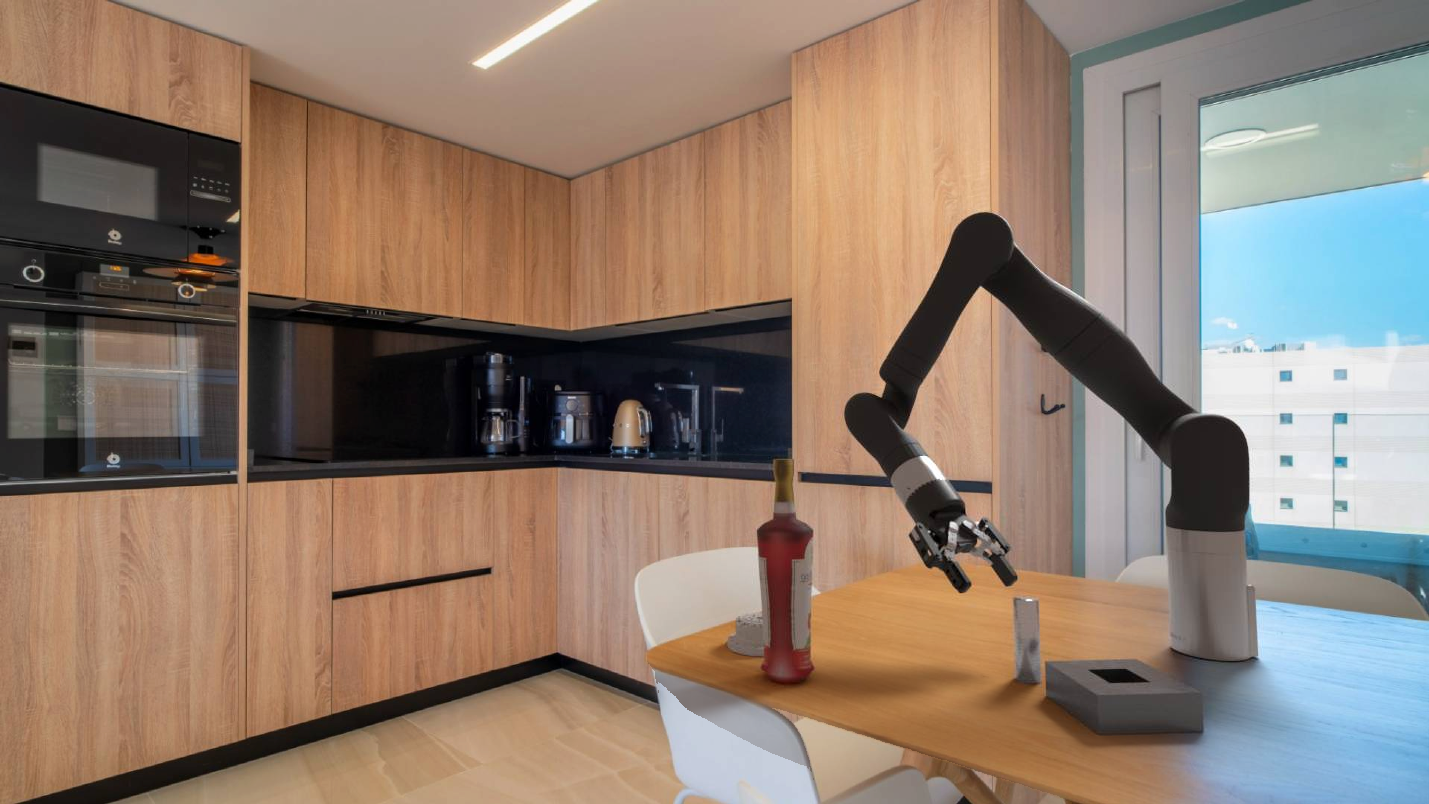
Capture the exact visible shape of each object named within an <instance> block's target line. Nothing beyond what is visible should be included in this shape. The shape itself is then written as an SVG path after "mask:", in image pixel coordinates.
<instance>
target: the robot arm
mask: <svg viewBox="0 0 1429 804" xmlns="http://www.w3.org/2000/svg"><path fill="white" fill-rule="evenodd" d="M979 288H982V289H984V290H985V291H986V292H988V293H989V294H990V295H991V296H993V297H994V298H995V299H997V300H998V301H999V302H1000V303H1002V305H1004V306H1005V307H1006V308H1007V309H1008V310H1009V311H1010V312H1011V313H1012V314H1013V316H1015V318H1016V319H1017V320H1018V321H1019V322H1020V324H1021V325H1022V326H1023V327H1024V328H1025V329H1026V331H1027V332H1028V333H1029V335H1031V336H1032V338H1034V339H1035V340H1036V342H1037V343H1038V344H1039V345H1041V347H1042V348H1043V349H1044V350H1045V351H1046V352H1047V353H1048V354H1049V355H1050V356H1051V357H1052V358H1053V359H1054V360H1056V362H1057V363H1059V365H1060V366H1062V367H1063V368H1064V369H1065V370H1066V371H1067V372H1068V373H1069V374H1070V375H1071V376H1073V378H1074V379H1076V380H1077V381H1078V382H1080V383H1081V384H1082V385H1084V387H1086V389H1087V390H1089V391H1090V392H1092V393H1093V394H1094V395H1095V396H1096V397H1097V398H1099V399H1100V400H1101V401H1102V402H1104V403H1105V404H1106V405H1108V406H1109V407H1111V408H1112V409H1113V410H1114V411H1116V412H1117V413H1118V414H1119V415H1120V416H1121V417H1122V418H1123V419H1124V420H1125V421H1126V422H1127V423H1128V424H1129V425H1130V427H1132V428H1133V430H1134V431H1135V433H1137V434H1138V435H1139V436H1140V437H1141V439H1142V440H1143V441H1144V442H1145V444H1147V446H1148V447H1149V448H1150V449H1151V450H1152V452H1154V454H1155V455H1156V456H1157V457H1158V459H1159V460H1160V461H1161V462H1162V463H1163V464H1164V465H1165V466H1166V467H1168V468H1169V470H1170V488H1171V489H1170V491H1171V492H1170V499H1169V502H1168V504H1167V505H1166V507H1165V509H1164V514H1165V515H1164V516H1165V533H1166V534H1165V537H1166V539H1165V541H1166V558H1167V559H1166V560H1167V564H1166V565H1167V583H1168V589H1167V590H1168V605H1169V606H1168V608H1169V609H1168V610H1169V635H1170V647H1171V648H1172V649H1173V650H1175V651H1177V652H1179V653H1181V654H1184V655H1187V656H1191V657H1196V658H1202V659H1206V660H1212V661H1213V660H1214V661H1223V662H1224V661H1225V662H1239V661H1246V660H1248V659H1250V658H1254V657H1257V658H1258V657H1259V638H1258V625H1257V624H1258V623H1257V600H1256V587H1255V586H1254V585H1252V584H1250V583H1248V567H1247V565H1248V564H1247V548H1246V546H1247V545H1246V543H1247V542H1246V516H1247V513H1248V510H1249V507H1250V490H1251V489H1250V485H1251V481H1250V480H1251V478H1250V475H1251V474H1250V473H1251V471H1250V452H1249V451H1250V449H1249V446H1248V445H1249V444H1248V440H1247V438H1246V434H1245V432H1244V431H1243V429H1241V427H1240V426H1239V425H1238V424H1237V423H1236V422H1235V421H1234V420H1232V419H1230V418H1229V417H1227V416H1223V415H1221V414H1216V413H1205V412H1204V413H1200V411H1198V410H1196V409H1195V408H1193V407H1192V406H1191V405H1190V404H1188V402H1187V403H1186V402H1185V401H1184V400H1183V399H1181V398H1180V397H1179V396H1178V395H1177V394H1176V393H1174V392H1172V390H1170V389H1169V388H1168V387H1167V386H1166V385H1165V384H1164V383H1163V382H1162V381H1161V380H1160V379H1159V378H1158V376H1157V375H1156V374H1155V372H1154V371H1153V369H1152V368H1151V367H1150V365H1149V364H1148V362H1147V361H1146V359H1145V357H1144V356H1143V355H1142V353H1141V352H1140V350H1139V348H1138V347H1137V346H1136V345H1135V344H1134V342H1133V341H1132V339H1130V337H1129V336H1128V335H1127V334H1126V333H1125V332H1124V331H1123V330H1122V329H1121V328H1120V327H1119V326H1118V325H1116V323H1114V322H1113V321H1112V320H1111V319H1110V318H1109V317H1108V316H1107V315H1105V314H1104V313H1103V312H1102V311H1101V310H1100V309H1099V308H1098V307H1096V306H1094V305H1093V303H1091V302H1090V301H1088V300H1086V299H1085V298H1083V297H1082V296H1081V295H1079V294H1077V293H1075V292H1074V291H1072V290H1071V289H1069V288H1068V287H1066V286H1064V285H1063V284H1060V283H1059V282H1057V281H1055V280H1054V279H1052V278H1051V277H1049V276H1048V275H1046V274H1045V273H1044V272H1043V271H1042V270H1040V269H1039V268H1038V267H1037V266H1036V265H1035V264H1034V263H1033V262H1032V261H1031V259H1029V257H1027V255H1026V254H1024V252H1023V251H1022V249H1020V248H1019V246H1018V245H1017V244H1016V242H1015V239H1014V232H1013V230H1012V227H1011V225H1010V223H1009V222H1008V221H1007V220H1006V219H1005V218H1004V217H1003V216H1001V215H1000V214H997V213H994V212H991V211H981V212H976V213H973V214H971V215H969V216H966V217H965V218H964V219H962V220H961V221H960V223H958V224H957V225H956V227H955V229H954V230H953V232H952V234H951V238H950V241H949V244H948V247H947V249H946V251H945V254H944V257H943V259H942V261H941V264H940V266H939V268H938V269H937V272H936V275H935V276H934V278H933V280H932V281H931V284H930V287H928V290H927V292H926V293H925V295H924V296H923V299H922V300H921V302H920V303H919V305H918V307H917V309H916V310H915V311H914V313H913V314H912V316H911V317H910V319H909V320H908V322H907V323H906V324H905V327H904V328H903V330H902V331H901V333H900V335H898V338H897V339H896V341H895V343H894V344H893V346H892V347H891V348H890V351H889V352H888V354H887V355H886V357H885V359H884V360H883V362H882V364H881V366H880V368H879V370H878V371H879V372H878V374H879V377H880V378H881V379H882V381H883V382H884V383H885V385H884V388H883V392H882V394H881V396H879V395H877V394H875V393H871V392H865V391H864V392H858V393H855V394H854V395H852V396H851V397H849V399H848V400H847V402H846V404H845V407H844V410H843V417H844V422H845V425H846V427H847V429H848V431H849V432H850V434H851V435H852V436H853V437H854V439H855V440H856V441H857V442H858V443H859V445H861V446H862V448H863V449H864V450H865V451H866V452H867V453H868V454H869V455H870V456H871V457H872V458H873V459H874V460H875V461H876V462H877V463H878V464H879V466H880V469H881V470H882V472H883V473H884V474H885V476H886V478H887V479H888V481H889V482H890V483H891V486H892V487H893V490H894V491H895V494H896V496H897V497H898V499H899V500H900V503H902V505H903V507H904V508H905V510H906V511H907V513H908V515H909V516H910V517H911V519H912V521H913V523H915V526H914V527H913V528H912V530H910V532H909V534H908V538H909V540H910V541H911V543H912V544H913V547H914V549H915V550H916V552H917V553H918V555H919V557H920V559H921V561H922V563H924V566H925V567H926V568H927V569H930V570H932V569H933V568H937V569H938V570H939V571H940V572H943V574H944V575H945V576H946V578H947V579H948V581H949V582H950V584H951V585H952V587H953V588H954V589H955V590H957V591H956V592H958V593H959V594H965V593H966V592H968V590H970V589H971V587H972V582H971V580H970V578H969V577H968V575H967V574H966V572H965V571H964V569H963V567H962V566H961V565H960V563H959V562H958V561H955V556H956V555H958V554H960V553H962V554H970V555H971V556H973V557H974V558H981V559H983V560H985V561H986V562H987V563H988V564H990V566H991V568H992V571H994V572H995V574H996V575H997V577H998V578H999V580H1000V581H1001V582H1002V584H1003V585H1004V586H1005V588H1006V587H1012V586H1013V585H1014V584H1015V583H1016V582H1017V581H1018V578H1019V576H1018V574H1017V572H1016V571H1015V569H1014V568H1013V567H1012V565H1011V564H1010V562H1009V561H1008V559H1007V558H1006V555H1007V554H1008V553H1009V552H1010V551H1011V550H1012V545H1010V544H1009V542H1008V541H1007V540H1006V539H1005V537H1004V536H1003V535H1002V534H1001V532H1000V531H999V530H998V529H997V527H996V526H995V525H994V523H993V522H992V521H991V520H990V519H989V518H988V517H986V516H983V517H982V518H981V519H980V520H978V521H974V520H972V519H971V518H970V517H969V516H968V515H967V511H966V507H967V506H966V503H965V501H964V500H963V498H962V497H961V496H960V494H959V493H958V491H957V490H956V489H955V488H954V486H953V484H952V483H951V482H950V481H949V479H948V478H947V477H946V474H944V472H943V471H942V469H941V468H940V467H939V466H938V465H937V464H936V463H935V462H934V461H933V459H931V458H930V457H931V456H929V454H928V453H927V452H926V449H924V448H923V446H922V445H921V444H920V442H919V440H917V439H916V437H914V436H913V435H912V434H910V433H908V432H907V431H905V428H906V427H907V424H908V422H909V420H910V418H911V417H910V416H911V414H912V411H913V408H914V405H915V402H916V400H917V396H918V391H919V389H920V387H921V386H922V384H923V382H924V380H926V378H927V376H928V375H929V373H930V372H931V370H932V368H933V367H934V365H935V364H936V362H937V360H938V359H939V357H940V356H941V353H942V352H943V350H944V347H945V346H946V344H947V342H948V340H949V339H950V337H951V334H952V332H953V331H954V329H955V327H956V325H957V322H958V321H959V319H960V317H961V315H962V314H963V312H964V310H965V309H966V307H967V305H968V304H969V302H970V301H971V299H972V298H973V297H974V295H975V294H976V292H977V291H978V290H979ZM978 540H979V541H980V542H981V543H980V544H979V545H978V546H977V544H978ZM996 542H997V543H998V545H997V544H996ZM987 549H988V550H989V551H990V552H991V554H990V553H989V552H987V551H986V550H987ZM929 553H930V554H929Z"/></svg>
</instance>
